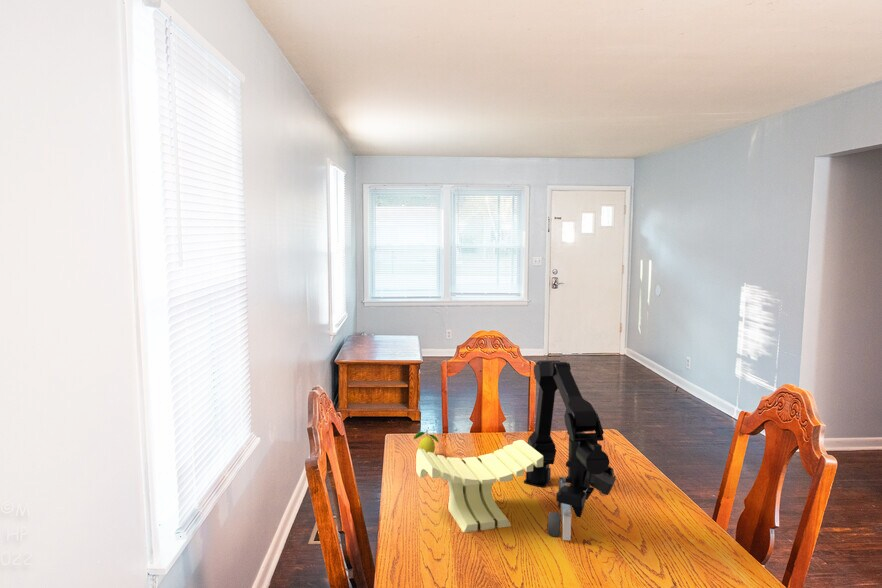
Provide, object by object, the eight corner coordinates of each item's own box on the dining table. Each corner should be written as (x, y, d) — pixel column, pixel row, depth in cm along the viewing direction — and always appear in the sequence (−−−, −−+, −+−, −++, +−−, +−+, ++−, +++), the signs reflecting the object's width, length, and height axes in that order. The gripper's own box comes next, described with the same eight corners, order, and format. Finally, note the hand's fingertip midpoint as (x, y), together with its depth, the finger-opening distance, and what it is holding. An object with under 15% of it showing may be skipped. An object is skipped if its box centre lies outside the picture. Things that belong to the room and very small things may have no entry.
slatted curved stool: (516, 496, 164) (518, 436, 162) (541, 522, 149) (543, 456, 147) (415, 508, 155) (416, 444, 154) (431, 537, 140) (432, 467, 139)
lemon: (413, 458, 191) (413, 429, 190) (422, 453, 196) (423, 425, 195) (429, 462, 188) (430, 433, 187) (439, 457, 193) (439, 428, 192)
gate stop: (546, 534, 142) (546, 515, 142) (550, 529, 145) (550, 510, 144) (557, 538, 141) (558, 518, 140) (561, 532, 143) (562, 513, 143)
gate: (559, 507, 156) (560, 482, 156) (566, 507, 156) (567, 483, 155) (562, 539, 139) (563, 512, 138) (570, 540, 139) (571, 513, 138)
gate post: (556, 507, 157) (557, 479, 157) (559, 503, 159) (560, 476, 159) (565, 509, 156) (566, 481, 155) (568, 506, 158) (569, 478, 157)
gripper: (603, 478, 129) (601, 543, 131) (621, 451, 146) (619, 508, 147) (556, 468, 135) (555, 530, 137) (578, 443, 151) (577, 499, 153)
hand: (578, 517), depth 143 cm, fingers closed
